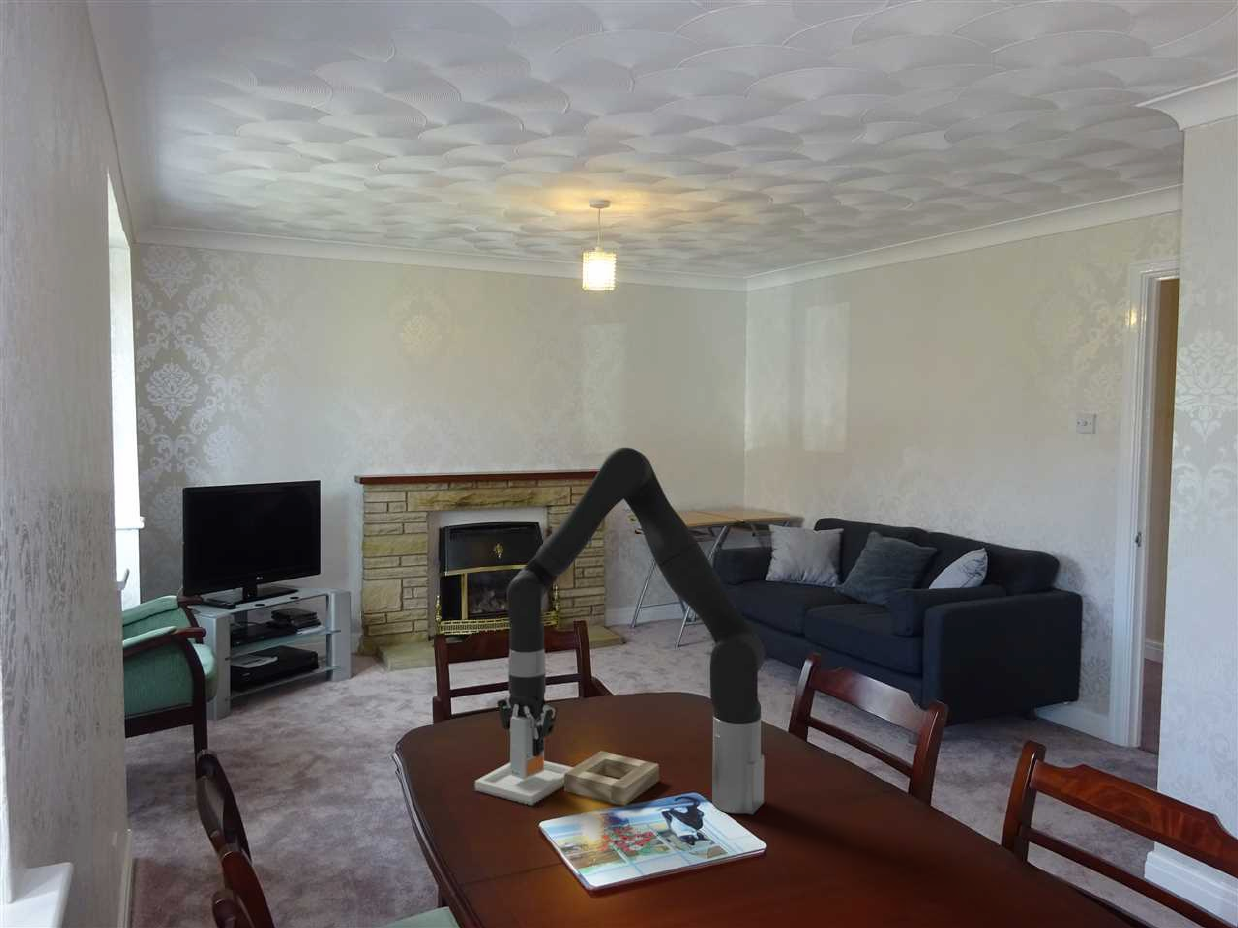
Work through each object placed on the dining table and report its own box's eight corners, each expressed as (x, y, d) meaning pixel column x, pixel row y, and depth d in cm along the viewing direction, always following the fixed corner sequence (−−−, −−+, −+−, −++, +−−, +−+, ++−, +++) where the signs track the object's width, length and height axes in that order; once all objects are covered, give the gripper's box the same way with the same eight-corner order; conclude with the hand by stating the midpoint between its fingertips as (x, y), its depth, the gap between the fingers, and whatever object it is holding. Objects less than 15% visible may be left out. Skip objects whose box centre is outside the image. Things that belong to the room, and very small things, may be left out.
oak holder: (658, 780, 180) (658, 764, 180) (624, 806, 168) (624, 788, 168) (600, 766, 187) (600, 750, 187) (564, 790, 175) (564, 773, 175)
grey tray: (576, 776, 182) (576, 768, 182) (531, 805, 168) (531, 796, 168) (522, 763, 189) (522, 755, 189) (474, 789, 175) (474, 781, 175)
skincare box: (525, 780, 175) (524, 721, 174) (509, 775, 177) (509, 717, 177) (545, 771, 180) (545, 713, 179) (530, 766, 182) (529, 709, 182)
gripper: (566, 670, 177) (566, 753, 178) (510, 661, 184) (510, 740, 185) (545, 679, 171) (545, 766, 171) (487, 669, 178) (488, 752, 179)
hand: (527, 752), depth 178 cm, fingers closed on skincare box, 4 cm apart
